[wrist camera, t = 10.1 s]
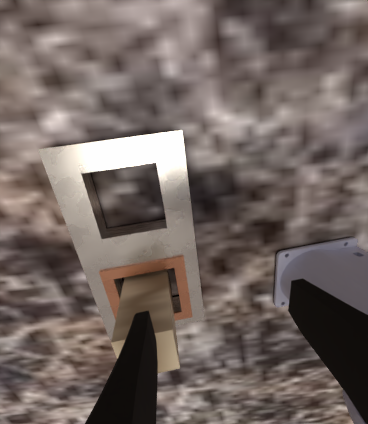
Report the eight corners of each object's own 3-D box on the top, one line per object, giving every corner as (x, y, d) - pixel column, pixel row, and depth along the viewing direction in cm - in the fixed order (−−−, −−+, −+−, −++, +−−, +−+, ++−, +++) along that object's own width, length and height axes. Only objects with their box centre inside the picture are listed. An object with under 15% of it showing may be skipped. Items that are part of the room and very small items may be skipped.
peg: (166, 260, 21) (172, 329, 13) (171, 290, 22) (180, 368, 15) (126, 267, 21) (111, 342, 13) (134, 297, 22) (125, 380, 15)
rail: (179, 130, 17) (182, 129, 15) (200, 305, 24) (205, 321, 22) (51, 147, 16) (36, 149, 14) (113, 323, 23) (109, 341, 21)
